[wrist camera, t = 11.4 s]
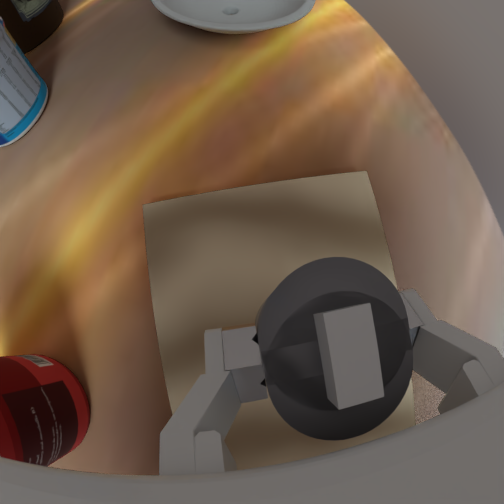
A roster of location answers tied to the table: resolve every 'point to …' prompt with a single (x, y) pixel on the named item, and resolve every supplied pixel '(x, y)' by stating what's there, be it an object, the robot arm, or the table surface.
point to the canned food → (40, 409)
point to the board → (255, 285)
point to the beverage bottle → (18, 91)
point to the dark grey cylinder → (335, 348)
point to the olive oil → (30, 20)
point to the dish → (235, 13)
